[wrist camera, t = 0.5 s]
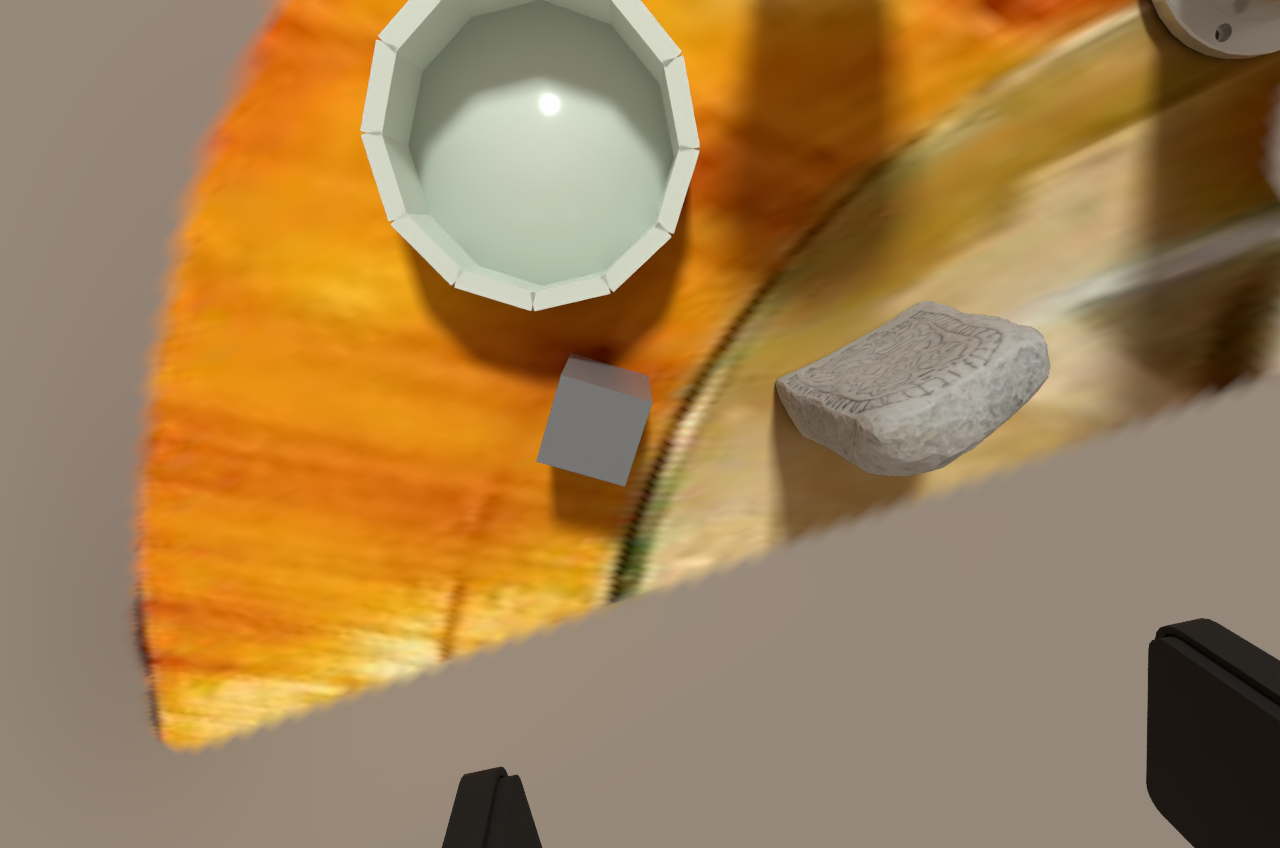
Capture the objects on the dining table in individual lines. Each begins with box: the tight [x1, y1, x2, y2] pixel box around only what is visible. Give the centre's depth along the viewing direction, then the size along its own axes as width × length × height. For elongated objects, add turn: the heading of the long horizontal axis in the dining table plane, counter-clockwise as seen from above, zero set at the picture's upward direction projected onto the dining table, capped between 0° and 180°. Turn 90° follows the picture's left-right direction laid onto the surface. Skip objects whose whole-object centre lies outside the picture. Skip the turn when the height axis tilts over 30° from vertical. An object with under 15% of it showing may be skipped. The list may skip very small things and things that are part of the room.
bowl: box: [360, 0, 700, 311], centre depth 33 cm, size 16×16×5 cm
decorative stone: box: [775, 301, 1050, 476], centre depth 33 cm, size 11×6×15 cm, turn 122°
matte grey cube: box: [536, 353, 653, 486], centre depth 37 cm, size 5×5×6 cm
